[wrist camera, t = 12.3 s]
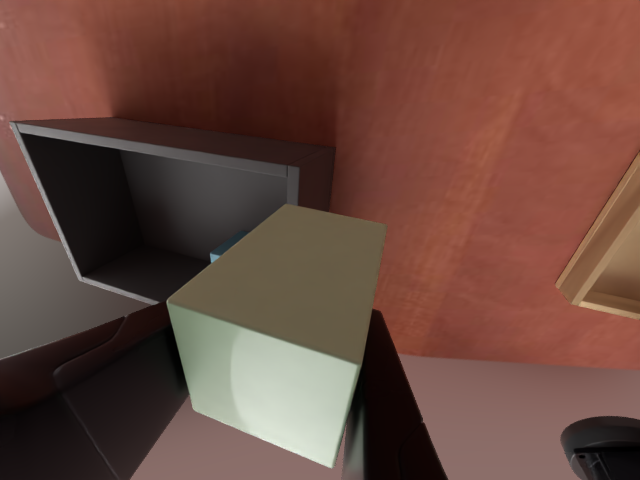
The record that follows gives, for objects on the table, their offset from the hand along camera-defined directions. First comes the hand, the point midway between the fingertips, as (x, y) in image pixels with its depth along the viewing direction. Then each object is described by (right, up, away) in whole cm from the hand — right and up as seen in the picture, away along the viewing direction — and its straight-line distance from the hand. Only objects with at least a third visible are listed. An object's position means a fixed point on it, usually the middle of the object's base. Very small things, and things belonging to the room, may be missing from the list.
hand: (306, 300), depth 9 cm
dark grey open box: (-8, +5, +14) cm, 17 cm away
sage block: (+1, +1, +2) cm, 3 cm away
